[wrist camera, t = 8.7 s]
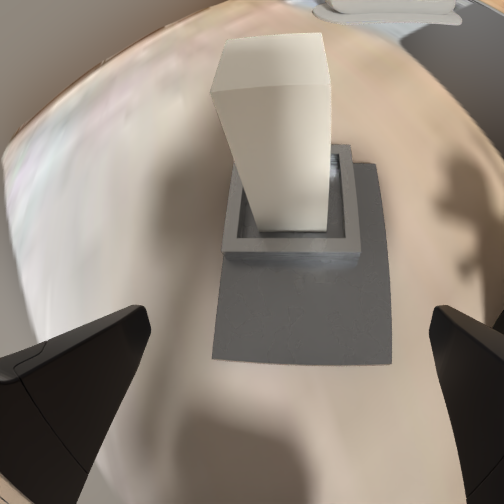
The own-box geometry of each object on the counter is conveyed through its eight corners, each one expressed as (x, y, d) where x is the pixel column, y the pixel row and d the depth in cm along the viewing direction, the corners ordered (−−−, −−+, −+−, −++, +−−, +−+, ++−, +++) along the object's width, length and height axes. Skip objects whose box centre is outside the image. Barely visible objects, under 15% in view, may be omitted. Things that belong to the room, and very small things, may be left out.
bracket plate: (388, 365, 19) (397, 362, 17) (215, 359, 21) (204, 356, 19) (372, 164, 26) (376, 145, 23) (239, 166, 28) (232, 147, 26)
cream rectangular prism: (326, 232, 23) (331, 84, 11) (258, 231, 24) (209, 92, 12) (324, 175, 25) (321, 31, 13) (263, 176, 26) (227, 38, 14)
